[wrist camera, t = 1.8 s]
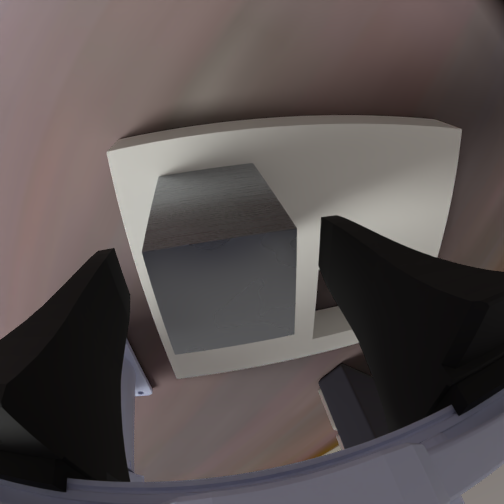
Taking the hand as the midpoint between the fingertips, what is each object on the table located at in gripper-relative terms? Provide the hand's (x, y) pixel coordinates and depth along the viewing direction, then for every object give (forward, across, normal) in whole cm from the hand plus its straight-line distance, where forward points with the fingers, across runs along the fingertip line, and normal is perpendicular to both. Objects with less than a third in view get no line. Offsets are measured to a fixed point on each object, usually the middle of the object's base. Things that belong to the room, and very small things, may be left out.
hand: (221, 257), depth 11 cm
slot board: (+6, -5, +4) cm, 9 cm away
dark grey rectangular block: (+6, -12, +22) cm, 26 cm away
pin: (+4, 0, 0) cm, 4 cm away
